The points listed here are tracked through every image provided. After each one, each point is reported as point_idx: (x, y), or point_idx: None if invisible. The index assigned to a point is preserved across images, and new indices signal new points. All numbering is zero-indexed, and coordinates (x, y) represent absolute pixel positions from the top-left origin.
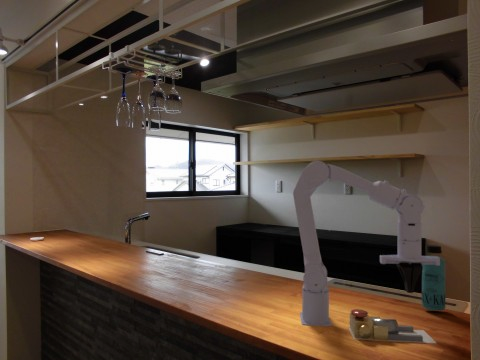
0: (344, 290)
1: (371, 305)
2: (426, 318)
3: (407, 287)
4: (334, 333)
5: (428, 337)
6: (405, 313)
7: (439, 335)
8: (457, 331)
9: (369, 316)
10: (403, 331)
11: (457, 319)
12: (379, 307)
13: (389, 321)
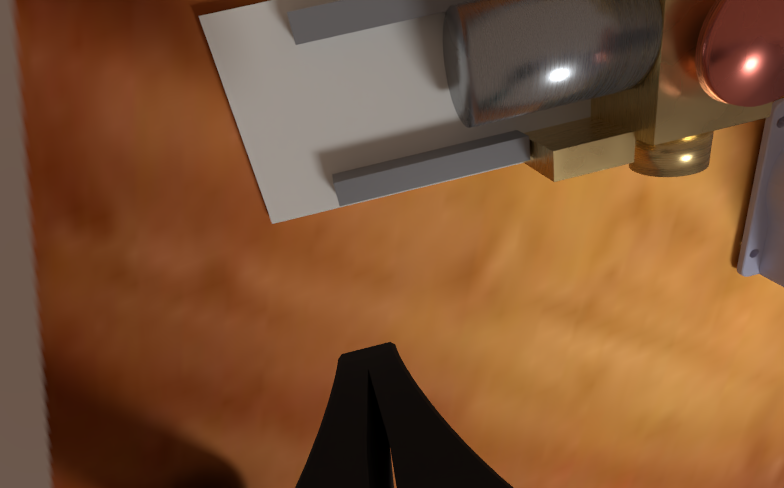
0: None
1: None
2: (247, 414)
3: (410, 376)
4: None
5: (248, 108)
6: None
7: (183, 196)
8: (82, 296)
9: (615, 164)
10: (389, 160)
11: (91, 459)
12: None
13: (529, 29)
